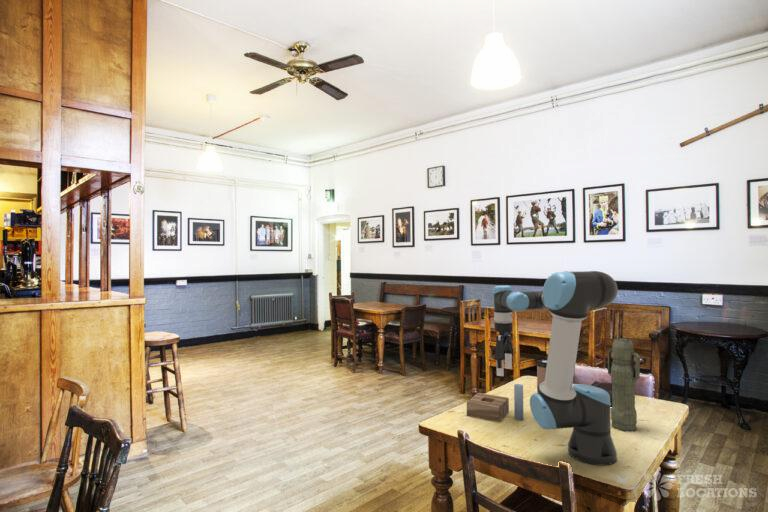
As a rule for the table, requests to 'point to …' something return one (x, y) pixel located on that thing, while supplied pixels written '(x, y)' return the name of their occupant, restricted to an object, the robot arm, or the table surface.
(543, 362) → the travel mug
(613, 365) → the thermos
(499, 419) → the bore block
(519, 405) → the dowel pin
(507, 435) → the table surface
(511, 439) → the table surface
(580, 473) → the table surface
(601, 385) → the diary
